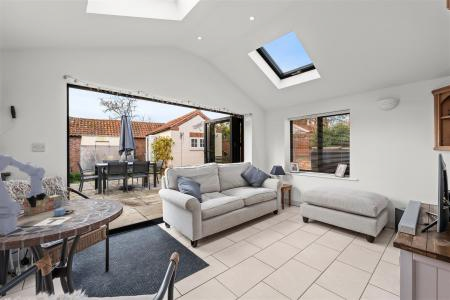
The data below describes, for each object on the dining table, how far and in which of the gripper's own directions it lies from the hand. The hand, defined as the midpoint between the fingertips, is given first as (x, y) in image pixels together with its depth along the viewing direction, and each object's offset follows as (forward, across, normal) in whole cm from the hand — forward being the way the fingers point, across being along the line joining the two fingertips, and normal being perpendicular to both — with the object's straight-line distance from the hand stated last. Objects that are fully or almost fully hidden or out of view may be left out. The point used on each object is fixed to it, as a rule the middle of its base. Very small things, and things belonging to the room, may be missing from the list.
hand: (36, 206), depth 125 cm
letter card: (+9, -7, -14) cm, 18 cm away
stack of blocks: (+9, +21, +10) cm, 25 cm away
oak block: (+2, 0, 0) cm, 2 cm away
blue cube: (+9, +6, -10) cm, 15 cm away
